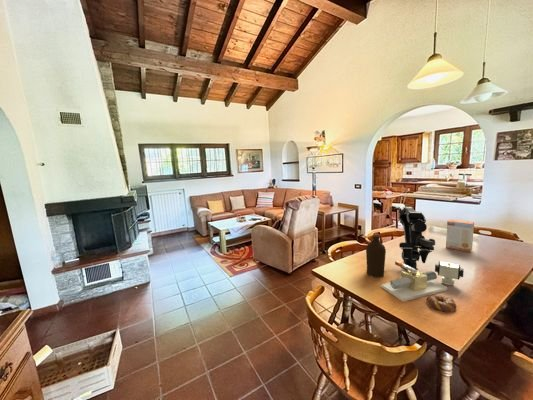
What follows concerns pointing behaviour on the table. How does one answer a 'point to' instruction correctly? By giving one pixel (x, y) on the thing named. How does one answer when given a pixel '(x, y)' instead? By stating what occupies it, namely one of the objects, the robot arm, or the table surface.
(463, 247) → the cracker box
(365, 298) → the table surface
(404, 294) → the mount board
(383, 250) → the olive oil
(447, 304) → the pretzel
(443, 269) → the pneumatic valve
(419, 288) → the valve body
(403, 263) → the valve lever
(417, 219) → the robot arm
